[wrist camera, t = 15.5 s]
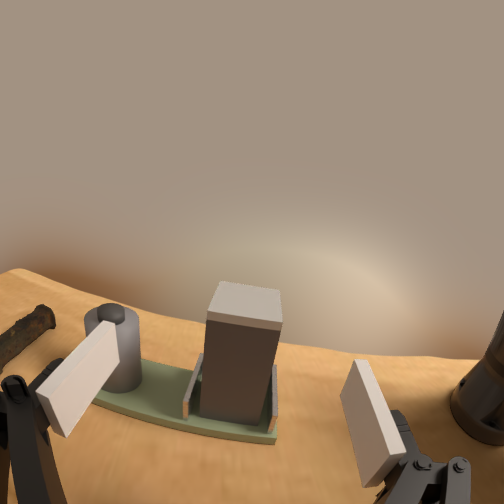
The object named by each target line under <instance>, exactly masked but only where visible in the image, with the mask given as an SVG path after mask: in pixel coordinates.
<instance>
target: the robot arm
mask: <svg viewBox="0 0 504 504" xmlns="http://www.w3.org/2000/svg"><path fill="white" fill-rule="evenodd" d="M119 362H120V361H119V354H118V346H117V338H116V329H115V323H112V322H108V321H104V320H103V321H102V322H101V323H100V324H99V325H98V326H97V327H96V328H95V329H94V330H93V331H92V332H91V333H90V334H89V335H88V336H87V337H86V338H85V339H84V340H83V341H82V342H81V343H80V344H79V345H78V346H77V347H76V348H75V349H74V351H73V352H72V353H71V354H70V355H69V356H68V357H67V358H66V359H65V360H64V359H62V358H58V359H56V360H54V361H52V362H51V363H50V364H49V365H48V366H47V367H46V369H44V370H43V371H42V372H41V373H40V374H39V375H38V376H37V377H36V378H35V379H34V380H33V381H32V382H31V383H30V384H29V386H28V387H27V385H26V382H25V380H24V379H23V378H22V377H21V376H18V375H10V376H8V377H6V378H4V379H3V381H2V382H1V387H2V390H3V392H1V391H0V504H7V494H8V478H9V468H10V460H11V467H12V474H13V480H14V485H15V490H16V495H17V500H18V504H67V501H66V498H65V495H64V492H63V489H62V485H61V482H60V479H59V475H58V472H57V468H56V464H55V460H54V456H53V452H52V447H51V443H50V438H49V433H48V431H47V428H48V427H49V426H50V425H51V427H52V429H53V431H54V432H55V433H57V434H59V435H61V436H63V437H65V438H67V437H68V436H69V434H70V433H71V431H72V430H73V428H74V427H75V425H76V424H77V422H78V421H79V419H80V418H81V416H82V415H83V413H84V412H85V410H86V409H87V408H88V406H89V405H90V403H91V402H92V400H93V399H94V397H95V396H96V395H97V393H98V392H99V390H100V389H101V387H102V386H103V385H104V383H105V382H106V380H107V379H108V378H109V376H110V375H111V373H112V372H113V371H114V369H115V368H116V366H117V365H118V364H119ZM340 398H341V401H342V405H343V409H344V413H345V416H346V420H347V424H348V428H349V432H350V436H351V440H352V444H353V448H354V452H355V456H356V460H357V465H358V469H359V473H360V478H361V482H362V487H363V488H367V487H374V486H378V485H379V484H380V483H381V482H382V481H383V480H384V482H385V485H386V486H385V487H384V488H383V489H382V490H381V491H380V492H379V493H378V494H377V495H376V497H377V499H376V500H375V502H374V503H373V504H470V497H471V466H470V463H469V462H468V460H467V459H465V458H464V457H460V456H456V457H454V458H452V459H451V460H450V461H449V462H448V463H438V462H433V461H432V459H431V458H430V457H429V456H427V455H425V454H421V453H420V450H419V448H418V446H417V443H416V441H415V439H414V437H413V434H412V432H410V428H409V426H408V423H407V421H406V419H405V417H404V415H403V414H402V413H401V412H400V411H399V410H389V408H388V406H387V403H386V401H385V399H384V396H383V394H382V392H381V390H380V387H379V385H378V383H377V381H376V378H375V376H374V374H373V372H372V370H371V367H370V365H369V363H368V361H367V360H363V359H354V361H353V364H352V367H351V369H350V372H349V374H348V377H347V380H346V382H345V385H344V387H343V389H342V392H341V394H340ZM450 407H451V411H452V413H453V416H454V418H455V419H456V421H457V422H458V424H459V425H460V426H461V427H462V428H463V429H464V430H465V431H466V432H467V433H468V434H469V435H471V436H472V437H474V438H475V439H477V440H479V441H481V442H483V443H486V444H490V445H504V312H503V314H502V317H501V319H500V321H499V324H498V326H497V329H496V331H495V333H494V335H493V338H492V340H491V342H490V344H489V347H488V349H487V351H486V353H485V355H484V356H483V358H482V359H481V360H480V361H479V362H478V363H477V364H476V365H475V366H474V367H473V368H472V369H471V370H470V372H469V373H468V374H467V375H466V376H465V377H464V378H463V379H462V380H461V381H460V382H459V383H458V385H457V387H456V388H455V390H454V392H453V393H452V395H451V398H450Z"/></svg>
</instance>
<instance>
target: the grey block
mask: <svg viewBox="0 0 504 504" xmlns="http://www.w3.org/2000/svg"><path fill="white" fill-rule="evenodd" d="M282 323H283V320H282V310H281V299H280V290H276V289H270V288H262V287H256V286H249V285H243V284H237V283H231V282H224V281H220V283H219V285H218V287H217V289H216V292H215V294H214V297H213V299H212V301H211V303H210V306H209V308H208V310H207V321H206V331H205V343H204V355H203V368H202V382H201V397H200V414H199V417H201V418H206V419H212V420H217V421H223V422H230V423H236V424H243V425H251V426H258V423H259V419H260V415H261V411H262V407H263V403H264V400H265V396H266V392H267V388H268V384H269V380H270V375H271V371H272V367H273V363H274V359H275V354H276V350H277V346H278V341H279V337H280V332H281V328H282Z"/></svg>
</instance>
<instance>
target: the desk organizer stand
mask: <svg viewBox="0 0 504 504" xmlns="http://www.w3.org/2000/svg"><path fill="white" fill-rule="evenodd" d="M103 320H104V321H108V322H112V323H115V329H116V338H117V346H118V354H119V361H120V362H119V364H118V365H117V366H116V368H115V369H114V371H113V372H112V373H111V375H110V376H109V378H108V379H107V380H106V382H105V383H104V385H103V386H102V387H101V389H100V390H99V392H98V393H97V395H96V396H95V397H94V399H93V400H92V402H91V403H93V404H96V405H99V406H101V407H104V408H107V409H110V410H112V411H115V412H118V413H121V414H124V415H127V416H130V417H133V418H137V419H140V420H143V421H147V422H150V423H154V424H158V425H161V426H165V427H169V428H173V429H177V430H182V431H186V432H191V433H196V434H201V435H206V436H211V437H217V438H223V439H229V440H236V441H243V442H252V443H261V444H271V445H275V442H276V439H277V420H276V423H275V426H274V429H273V433H272V434H267V403H268V388H267V392H266V396H265V400H264V403H263V407H262V411H261V415H260V419H259V423H258V426H251V425H243V424H236V423H230V422H223V421H217V420H212V419H206V418H201V417H199V414H200V397H201V382H202V378H201V381H200V384H199V387H198V390H197V394H196V397H195V400H194V403H193V406H192V410H191V413H190V416H189V419H188V421H184V420H183V400H184V397H185V394H186V391H187V388H188V386H189V383H190V380H191V377H192V375H193V372H194V371H192V370H187V369H182V368H178V367H173V366H169V365H165V364H160V363H156V362H152V361H148V360H145V359H141V352H140V333H139V317H138V315H137V313H136V312H135V311H133V310H131V309H129V308H127V307H123V306H121V305H119V304H115V303H107V304H103V305H100V306H99V307H96V308H94V309H92V310H90V311H88V312H87V313H86V315H85V317H84V324H85V331H86V337H87V336H88V335H89V334H90V333H91V332H92V331H93V330H94V329H95V328H96V327H97V326H98V325H99V324H100V323H101V322H102V321H103Z"/></svg>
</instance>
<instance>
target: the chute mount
mask: <svg viewBox="0 0 504 504" xmlns="http://www.w3.org/2000/svg"><path fill="white" fill-rule="evenodd" d="M203 355H204V354H203V353H200V355H199V358H198V361H197V364H196V366H195V369H194V372H193V375H192V377H191V380H190V383H189V386H188V388H187V391H186V394H185V397H184V400H183V420H184V421H188V419H189V416H190V413H191V410H192V406H193V403H194V400H195V397H196V394H197V390H198V387H199V384H200V381H201V378H202V368H203ZM277 417H278V401H277V368H276V365H273V367H272V371H271V375H270V380H269V384H268V403H267V434H272V433H273V429H274V426H275V423H276V420H277Z"/></svg>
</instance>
